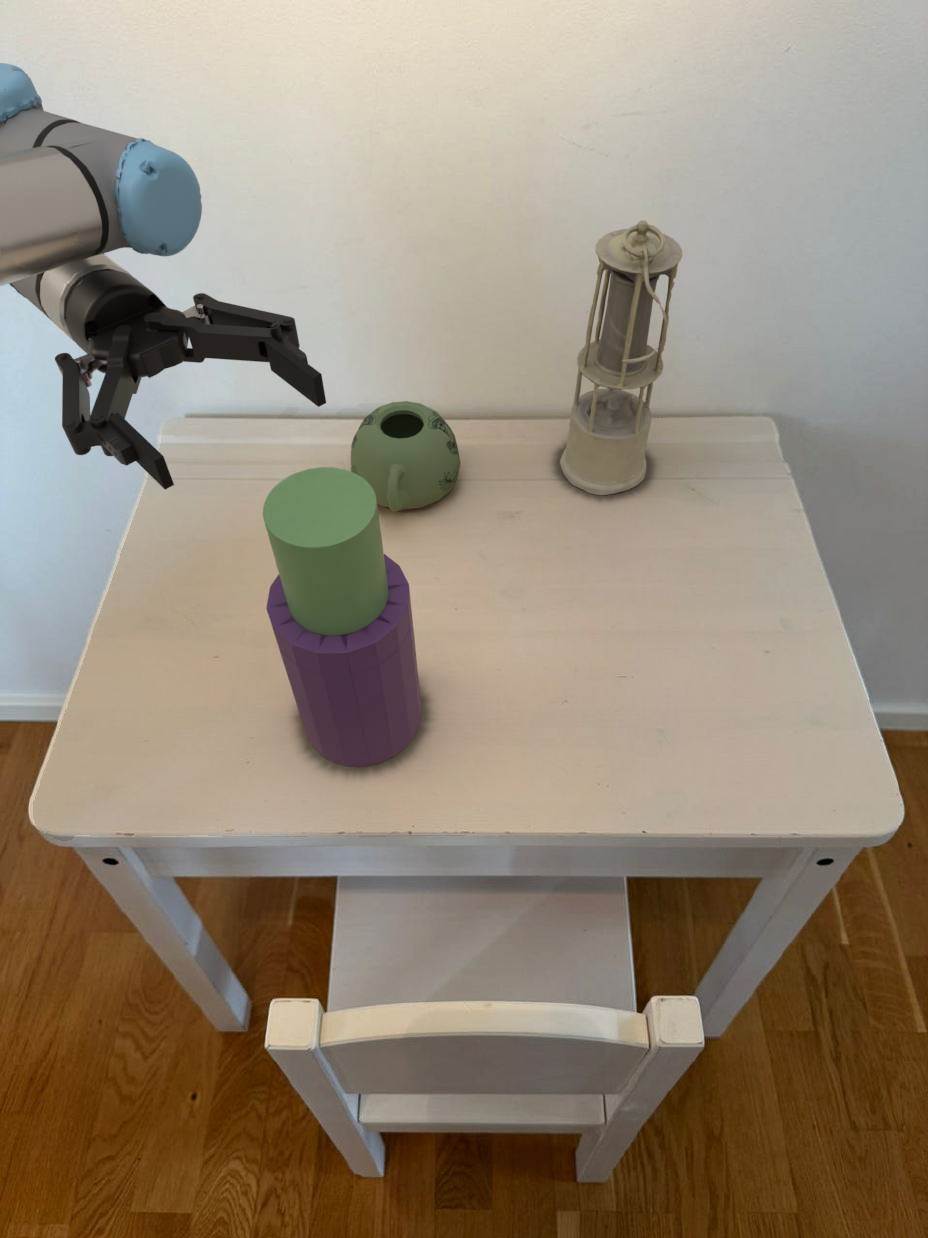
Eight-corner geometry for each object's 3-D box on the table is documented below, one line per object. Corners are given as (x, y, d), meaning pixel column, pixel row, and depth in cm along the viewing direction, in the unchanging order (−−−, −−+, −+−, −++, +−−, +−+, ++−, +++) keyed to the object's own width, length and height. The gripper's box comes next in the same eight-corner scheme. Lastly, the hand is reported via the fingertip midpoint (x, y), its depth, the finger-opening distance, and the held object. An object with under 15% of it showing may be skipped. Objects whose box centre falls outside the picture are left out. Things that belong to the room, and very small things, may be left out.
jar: (298, 767, 79) (258, 654, 65) (310, 667, 86) (276, 545, 72) (419, 766, 79) (406, 651, 65) (422, 666, 86) (410, 542, 72)
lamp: (639, 436, 107) (685, 193, 83) (656, 510, 99) (711, 265, 75) (556, 438, 107) (578, 196, 83) (566, 512, 99) (593, 268, 75)
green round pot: (361, 441, 107) (353, 383, 100) (465, 445, 106) (464, 387, 99) (339, 534, 97) (329, 477, 90) (453, 540, 96) (451, 483, 90)
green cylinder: (267, 613, 67) (239, 523, 60) (323, 546, 72) (304, 454, 64) (354, 650, 65) (336, 562, 57) (407, 578, 69) (397, 487, 61)
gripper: (240, 296, 81) (381, 398, 71) (-15, 411, 71) (109, 549, 61) (221, 217, 75) (372, 318, 66) (-60, 331, 65) (69, 470, 55)
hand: (245, 430), depth 63 cm, fingers open, 13 cm apart
